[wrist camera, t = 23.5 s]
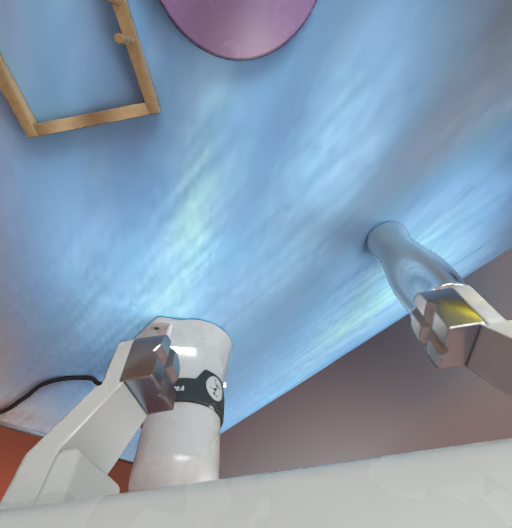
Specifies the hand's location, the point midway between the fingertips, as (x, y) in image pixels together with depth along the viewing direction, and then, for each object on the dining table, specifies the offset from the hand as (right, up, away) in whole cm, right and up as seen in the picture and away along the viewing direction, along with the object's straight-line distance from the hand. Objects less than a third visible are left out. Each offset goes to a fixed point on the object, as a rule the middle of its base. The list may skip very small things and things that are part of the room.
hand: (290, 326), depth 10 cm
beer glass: (+18, +6, +35) cm, 40 cm away
